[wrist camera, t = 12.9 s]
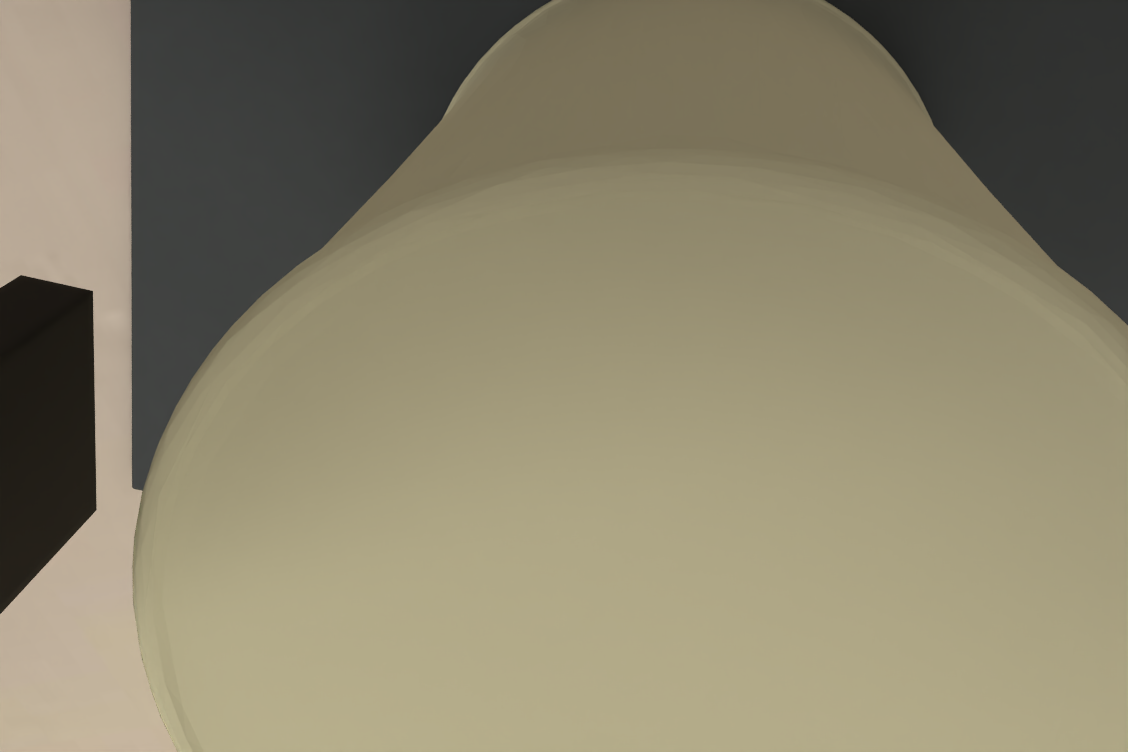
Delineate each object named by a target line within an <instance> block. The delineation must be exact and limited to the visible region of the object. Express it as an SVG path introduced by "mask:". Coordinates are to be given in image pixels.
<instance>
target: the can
mask: <svg viewBox="0 0 1128 752" xmlns="http://www.w3.org/2000/svg"><path fill="white" fill-rule="evenodd" d="M132 568H133V605H134V612H135V619H136V626H137V632H138V639H139V645H140V651H141V656H142V661H143V664H144V667H145V671H146V674H147V678H148V681H149V685H150V688H151V691H152V694H153V697H154V699H155V702H156V705H157V708H158V710H159V713H160V716H161V718H162V720H163V722H164V725H165V727H166V729H167V731H168V733H169V735H170V737H171V739H172V741H173V743H174V745H175V747H176V750H177V752H1128V325H1127V324H1126V323H1125V322H1124V321H1122V320H1121V319H1120V318H1119V317H1118V316H1117V315H1116V314H1115V313H1114V312H1113V311H1112V310H1111V309H1110V308H1108V307H1107V306H1106V305H1105V304H1104V303H1103V302H1102V301H1101V300H1100V299H1099V298H1098V297H1097V296H1096V295H1094V294H1093V293H1092V292H1091V291H1090V290H1088V289H1087V288H1086V287H1085V286H1083V285H1082V284H1081V283H1079V282H1078V281H1077V280H1075V279H1074V278H1073V277H1071V276H1070V275H1069V274H1068V273H1066V272H1065V271H1064V270H1062V269H1061V268H1060V267H1058V266H1057V265H1056V264H1055V263H1054V262H1053V261H1052V260H1051V258H1050V257H1049V256H1048V255H1047V254H1046V253H1045V252H1044V251H1043V250H1042V249H1041V247H1040V246H1039V245H1038V244H1037V243H1036V242H1035V241H1034V240H1033V239H1032V238H1031V236H1030V235H1029V234H1028V233H1027V232H1026V231H1025V230H1024V229H1023V228H1022V227H1021V225H1020V224H1019V223H1018V222H1017V221H1016V220H1015V219H1014V218H1013V217H1012V216H1011V214H1010V213H1009V212H1008V211H1007V210H1006V209H1005V208H1004V207H1003V206H1002V205H1001V203H1000V202H999V201H998V200H997V199H996V198H995V197H994V196H993V195H992V194H991V192H990V191H989V190H988V189H987V188H986V187H985V186H984V184H983V183H982V182H981V181H980V180H979V178H978V177H977V176H976V175H975V174H974V173H973V171H972V170H971V169H970V168H969V167H968V166H967V164H966V163H965V162H964V161H963V160H962V158H961V157H960V156H959V155H958V154H957V153H956V151H955V150H954V149H953V148H952V147H951V146H950V144H949V143H948V142H947V141H946V140H945V138H944V137H943V136H942V135H941V134H940V133H939V131H938V130H937V129H936V128H935V127H934V126H933V123H932V120H931V118H930V116H929V114H928V112H927V110H926V108H925V106H924V104H923V102H922V100H921V98H920V96H919V94H918V92H917V91H916V89H915V88H914V86H913V85H912V83H911V82H910V80H909V79H908V77H907V75H906V74H905V72H904V71H903V70H902V68H901V67H900V66H899V65H898V63H897V62H896V61H895V59H894V58H893V57H892V56H891V55H890V54H889V53H888V51H887V50H886V49H885V48H884V47H883V46H882V45H881V44H880V43H879V42H878V41H877V40H876V39H875V38H874V37H873V36H872V35H871V34H870V33H869V32H867V31H866V30H865V29H864V28H863V27H861V26H860V25H859V24H858V23H857V22H856V21H854V20H853V19H852V18H851V17H849V16H848V15H846V14H845V13H843V12H842V11H840V10H839V9H837V8H836V7H834V6H833V5H831V4H830V3H828V2H826V1H825V0H552V1H550V2H548V3H547V4H545V5H543V6H542V7H540V8H539V9H537V10H535V11H534V12H533V13H531V14H530V15H529V16H527V17H526V18H525V19H523V20H522V21H521V22H519V23H518V24H517V25H515V26H514V27H513V28H512V29H511V30H509V31H508V32H507V33H506V34H505V35H504V36H502V37H501V38H500V39H499V40H498V41H497V42H496V43H495V44H494V45H493V46H492V47H491V48H490V50H489V51H488V52H487V53H486V54H485V55H484V56H483V57H482V58H481V59H480V60H479V61H478V63H477V64H476V65H475V67H474V68H473V69H472V71H471V72H470V73H469V75H468V76H467V77H466V79H465V80H464V81H463V83H462V84H461V86H460V87H459V89H458V91H457V92H456V94H455V96H454V97H453V99H452V101H451V103H450V105H449V107H448V109H447V111H446V113H445V115H444V117H443V119H442V120H441V121H440V123H439V124H438V125H437V126H436V127H435V128H434V129H433V130H432V131H431V133H430V134H429V135H428V136H427V137H426V138H425V139H424V140H423V141H422V143H421V144H420V145H419V146H418V147H417V148H416V149H415V150H414V151H413V153H412V154H411V155H410V156H409V157H408V158H407V159H406V160H405V161H404V163H403V164H402V165H401V166H400V167H399V168H398V169H397V170H396V171H395V173H394V174H393V175H392V176H391V177H390V178H389V179H388V180H387V181H386V182H385V183H384V184H383V185H382V186H381V187H380V188H379V190H378V191H377V192H376V193H375V194H374V195H373V196H372V197H371V198H370V199H369V200H368V201H367V202H366V203H365V204H364V205H363V206H362V207H361V208H360V209H359V210H358V211H357V212H356V213H355V215H354V216H353V217H352V218H351V219H350V220H349V221H348V222H347V223H346V224H345V225H344V226H343V227H342V228H341V229H340V230H339V231H338V232H337V233H336V234H335V235H334V236H333V237H332V238H331V240H330V241H329V242H328V243H327V244H326V245H325V246H324V247H323V248H322V249H321V250H319V251H318V252H316V253H315V254H313V255H312V256H310V257H309V258H308V259H306V260H305V261H303V262H302V263H300V264H299V265H298V266H296V267H295V268H294V269H293V270H292V271H290V272H289V273H288V274H287V275H286V276H284V277H283V278H282V279H281V280H280V281H278V282H277V283H276V284H275V285H274V286H272V287H271V288H270V289H269V290H268V291H266V292H265V293H264V294H263V295H262V296H261V297H260V298H259V299H258V300H257V301H256V302H255V303H254V304H253V305H252V306H251V307H250V308H249V309H248V310H247V311H246V312H245V313H244V314H243V315H242V316H241V317H240V318H239V319H238V320H237V321H236V322H235V323H234V324H233V325H232V326H231V328H230V329H229V330H228V331H227V332H226V334H225V335H224V336H223V337H222V339H221V340H220V341H219V342H218V343H217V345H216V346H215V347H214V348H213V349H212V351H211V352H210V353H209V355H208V356H207V358H206V359H205V361H204V362H203V363H202V365H201V366H200V368H199V369H198V371H197V372H196V373H195V375H194V376H193V378H192V379H191V381H190V383H189V385H188V386H187V388H186V390H185V392H184V393H183V395H182V397H181V398H180V400H179V402H178V404H177V405H176V407H175V409H174V411H173V414H172V416H171V418H170V420H169V422H168V424H167V426H166V428H165V431H164V433H163V435H162V437H161V439H160V441H159V444H158V446H157V449H156V452H155V454H154V457H153V460H152V463H151V466H150V470H149V473H148V476H147V479H146V482H145V485H144V488H143V492H142V497H141V503H140V508H139V514H138V519H137V525H136V530H135V536H134V551H133V566H132Z"/></svg>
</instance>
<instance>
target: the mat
mask: <svg viewBox="0 0 1128 752" xmlns="http://www.w3.org/2000/svg"><path fill="white" fill-rule="evenodd" d="M550 1H552V0H131V208H132V487H133V488H134V489H138V490H142V491H143V488H144V485H145V482H146V479H147V476H148V473H149V470H150V466H151V463H152V460H153V457H154V454H155V452H156V449H157V446H158V444H159V441H160V439H161V437H162V435H163V433H164V431H165V428H166V426H167V424H168V422H169V420H170V418H171V416H172V414H173V411H174V409H175V407H176V405H177V404H178V402H179V400H180V398H181V397H182V395H183V393H184V392H185V390H186V388H187V386H188V385H189V383H190V381H191V379H192V378H193V376H194V375H195V373H196V372H197V371H198V369H199V368H200V366H201V365H202V363H203V362H204V361H205V359H206V358H207V356H208V355H209V353H210V352H211V351H212V349H213V348H214V347H215V346H216V345H217V343H218V342H219V341H220V340H221V339H222V337H223V336H224V335H225V334H226V332H227V331H228V330H229V329H230V328H231V326H232V325H233V324H234V323H235V322H236V321H237V320H238V319H239V318H240V317H241V316H242V315H243V314H244V313H245V312H246V311H247V310H248V309H249V308H250V307H251V306H252V305H253V304H254V303H255V302H256V301H257V300H258V299H259V298H260V297H261V296H262V295H263V294H264V293H265V292H266V291H268V290H269V289H270V288H271V287H272V286H274V285H275V284H276V283H277V282H278V281H280V280H281V279H282V278H283V277H284V276H286V275H287V274H288V273H289V272H290V271H292V270H293V269H294V268H295V267H296V266H298V265H299V264H300V263H302V262H303V261H305V260H306V259H308V258H309V257H310V256H312V255H313V254H315V253H316V252H318V251H319V250H321V249H322V248H323V247H324V246H325V245H326V244H327V243H328V242H329V241H330V240H331V238H332V237H333V236H334V235H335V234H336V233H337V232H338V231H339V230H340V229H341V228H342V227H343V226H344V225H345V224H346V223H347V222H348V221H349V220H350V219H351V218H352V217H353V216H354V215H355V213H356V212H357V211H358V210H359V209H360V208H361V207H362V206H363V205H364V204H365V203H366V202H367V201H368V200H369V199H370V198H371V197H372V196H373V195H374V194H375V193H376V192H377V191H378V190H379V188H380V187H381V186H382V185H383V184H384V183H385V182H386V181H387V180H388V179H389V178H390V177H391V176H392V175H393V174H394V173H395V171H396V170H397V169H398V168H399V167H400V166H401V165H402V164H403V163H404V161H405V160H406V159H407V158H408V157H409V156H410V155H411V154H412V153H413V151H414V150H415V149H416V148H417V147H418V146H419V145H420V144H421V143H422V141H423V140H424V139H425V138H426V137H427V136H428V135H429V134H430V133H431V131H432V130H433V129H434V128H435V127H436V126H437V125H438V124H439V123H440V121H441V120H442V119H443V117H444V115H445V113H446V111H447V109H448V107H449V105H450V103H451V101H452V99H453V97H454V96H455V94H456V92H457V91H458V89H459V87H460V86H461V84H462V83H463V81H464V80H465V79H466V77H467V76H468V75H469V73H470V72H471V71H472V69H473V68H474V67H475V65H476V64H477V63H478V61H479V60H480V59H481V58H482V57H483V56H484V55H485V54H486V53H487V52H488V51H489V50H490V48H491V47H492V46H493V45H494V44H495V43H496V42H497V41H498V40H499V39H500V38H501V37H502V36H504V35H505V34H506V33H507V32H508V31H509V30H511V29H512V28H513V27H514V26H515V25H517V24H518V23H519V22H521V21H522V20H523V19H525V18H526V17H527V16H529V15H530V14H531V13H533V12H534V11H535V10H537V9H539V8H540V7H542V6H543V5H545V4H547V3H548V2H550ZM825 1H826V2H828V3H830V4H831V5H833V6H834V7H836V8H837V9H839V10H840V11H842V12H843V13H845V14H846V15H848V16H849V17H851V18H852V19H853V20H854V21H856V22H857V23H858V24H859V25H860V26H861V27H863V28H864V29H865V30H866V31H867V32H869V33H870V34H871V35H872V36H873V37H874V38H875V39H876V40H877V41H878V42H879V43H880V44H881V45H882V46H883V47H884V48H885V49H886V50H887V51H888V53H889V54H890V55H891V56H892V57H893V58H894V59H895V61H896V62H897V63H898V65H899V66H900V67H901V68H902V70H903V71H904V72H905V74H906V75H907V77H908V79H909V80H910V82H911V83H912V85H913V86H914V88H915V89H916V91H917V92H918V94H919V96H920V98H921V100H922V102H923V104H924V106H925V108H926V110H927V112H928V114H929V116H930V118H931V120H932V123H933V126H934V127H935V128H936V129H937V130H938V131H939V133H940V134H941V135H942V136H943V137H944V138H945V140H946V141H947V142H948V143H949V144H950V146H951V147H952V148H953V149H954V150H955V151H956V153H957V154H958V155H959V156H960V157H961V158H962V160H963V161H964V162H965V163H966V164H967V166H968V167H969V168H970V169H971V170H972V171H973V173H974V174H975V175H976V176H977V177H978V178H979V180H980V181H981V182H982V183H983V184H984V186H985V187H986V188H987V189H988V190H989V191H990V192H991V194H992V195H993V196H994V197H995V198H996V199H997V200H998V201H999V202H1000V203H1001V205H1002V206H1003V207H1004V208H1005V209H1006V210H1007V211H1008V212H1009V213H1010V214H1011V216H1012V217H1013V218H1014V219H1015V220H1016V221H1017V222H1018V223H1019V224H1020V225H1021V227H1022V228H1023V229H1024V230H1025V231H1026V232H1027V233H1028V234H1029V235H1030V236H1031V238H1032V239H1033V240H1034V241H1035V242H1036V243H1037V244H1038V245H1039V246H1040V247H1041V249H1042V250H1043V251H1044V252H1045V253H1046V254H1047V255H1048V256H1049V257H1050V258H1051V260H1052V261H1053V262H1054V263H1055V264H1056V265H1057V266H1058V267H1060V268H1061V269H1062V270H1064V271H1065V272H1066V273H1068V274H1069V275H1070V276H1071V277H1073V278H1074V279H1075V280H1077V281H1078V282H1079V283H1081V284H1082V285H1083V286H1085V287H1086V288H1087V289H1088V290H1090V291H1091V292H1092V293H1093V294H1094V295H1096V296H1097V297H1098V298H1099V299H1100V300H1101V301H1102V302H1103V303H1104V304H1105V305H1106V306H1107V307H1108V308H1110V309H1111V310H1112V311H1113V312H1114V313H1115V314H1116V315H1117V316H1118V317H1119V318H1120V319H1121V320H1122V321H1124V322H1125V323H1126V324H1127V325H1128V0H825Z"/></svg>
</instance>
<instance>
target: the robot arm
mask: <svg viewBox="0 0 1128 752" xmlns="http://www.w3.org/2000/svg"><path fill="white" fill-rule="evenodd" d="M95 511H96V458H95V397H94V336H93V291H90V290H86V289H81V288H76V287H72V286H67V285H63V284H58V283H54V282H49V281H45V280H40V279H36V278H31V277H27V276H22V275H21V276H19V277H17V278H16V279H14V280H13V281H11V282H9V283H8V284H6V285H5V286H3V287H1V288H0V614H1V613H2V612H3V611H4V609H5V608H6V607H7V606H8V605H9V604H10V603H11V602H12V601H13V600H14V599H15V598H16V596H17V595H18V594H19V593H20V592H21V591H22V590H23V589H24V588H25V587H26V586H27V585H28V583H29V582H30V581H31V580H32V579H33V578H34V577H35V576H36V575H37V574H38V573H39V572H40V570H41V569H42V568H43V567H44V566H45V565H46V564H47V563H48V562H49V561H50V560H51V559H52V558H53V556H54V555H55V554H56V553H57V552H58V551H59V550H60V549H61V548H62V547H63V546H64V545H65V543H66V542H67V541H68V540H69V539H70V538H71V537H72V536H73V535H74V534H75V533H76V532H77V530H78V529H79V528H80V527H81V526H82V525H83V524H84V523H85V522H86V521H87V520H88V519H89V517H90V516H91V515H92V514H93V513H94V512H95Z"/></svg>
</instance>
